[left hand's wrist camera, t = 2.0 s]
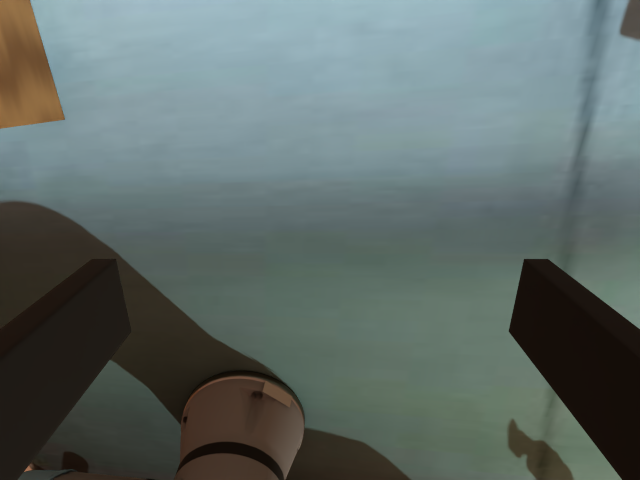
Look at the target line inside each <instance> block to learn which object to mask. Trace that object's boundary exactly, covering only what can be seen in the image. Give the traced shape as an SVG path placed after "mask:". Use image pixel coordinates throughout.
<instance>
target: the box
mask: <svg viewBox="0 0 640 480" xmlns="http://www.w3.org/2000/svg"><path fill="white" fill-rule="evenodd" d="M58 120H65V118H64V114H63V111H62V108H61V104H60V101H59V97H58V94H57V91H56V87H55V84H54V81H53V77H52V74H51V70H50V67H49V64H48V60H47V57H46V54H45V50H44V47H43V43H42V40H41V37H40V33H39V30H38V26H37V23H36V20H35V16H34V13H33V10H32V6H31V3H30V0H0V129H1V128H8V127H15V126H22V125H29V124H37V123H44V122H51V121H58Z"/></svg>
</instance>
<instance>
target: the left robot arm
mask: <svg viewBox="0 0 640 480" xmlns="http://www.w3.org/2000/svg"><path fill="white" fill-rule="evenodd" d="M130 332H131V328H130V323H129V319H128V314H127V309H126V304H125V300H124V295H123V290H122V286H121V281H120V276H119V271H118V267H117V262H116V259H92V260H90V261H89V262H88V263H86V264H85V265H84V266H82V267H81V268H80V269H79V270H77V271H76V272H75V273H73V274H72V275H71V276H69V277H68V278H67V279H65V280H64V281H63V282H62V283H60V284H59V285H58V286H56V287H55V288H54V289H52V290H51V291H50V292H48V293H47V294H46V295H45V296H43V297H42V298H41V299H39V300H38V301H37V302H35V303H34V304H33V305H31V306H30V307H29V308H28V309H26V310H25V311H24V312H22V313H21V314H20V315H18V316H17V317H16V318H14V319H13V320H12V321H11V322H9V323H8V324H7V325H5V326H4V327H3V328H1V329H0V480H18V479H19V477H20V476H21V475H22V473H23V472H24V471H25V469H26V468H27V467H28V466H29V464H30V463H31V462H32V460H33V459H34V458H35V456H36V455H37V454H38V453H39V451H40V450H41V449H42V447H43V446H44V445H45V443H46V442H47V441H48V439H49V438H50V437H51V436H52V434H53V433H54V432H55V430H56V429H57V428H58V426H59V425H60V424H61V422H62V421H63V420H64V419H65V417H66V416H67V415H68V413H69V412H70V411H71V409H72V408H73V407H74V406H75V404H76V403H77V402H78V400H79V399H80V398H81V396H82V395H83V394H84V392H85V391H86V390H87V389H88V387H89V386H90V385H91V383H92V382H93V381H94V379H95V378H96V377H97V375H98V374H99V373H100V372H101V370H102V369H103V368H104V366H105V365H106V364H107V362H108V361H109V360H110V358H111V357H112V356H113V355H114V353H115V352H116V351H117V349H118V348H119V347H120V345H121V344H122V343H123V341H124V340H125V339H126V338H127V336H128V335H129V334H130ZM509 332H510V334H511V335H512V336H513V338H514V339H515V340H516V341H517V343H518V344H519V345H520V347H521V348H522V349H523V351H524V352H525V353H526V355H527V356H528V357H529V358H530V360H531V361H532V362H533V364H534V365H535V366H536V368H537V369H538V370H539V372H540V373H541V374H542V375H543V377H544V378H545V379H546V381H547V382H548V383H549V385H550V386H551V387H552V389H553V390H554V391H555V392H556V394H557V395H558V396H559V398H560V399H561V400H562V402H563V403H564V404H565V406H566V407H567V408H568V409H569V411H570V412H571V413H572V415H573V416H574V417H575V419H576V420H577V421H578V422H579V424H580V425H581V426H582V428H583V429H584V430H585V432H586V433H587V434H588V436H589V437H590V438H591V439H592V441H593V442H594V443H595V445H596V446H597V447H598V449H599V450H600V451H601V453H602V454H603V455H604V456H605V458H606V459H607V460H608V462H609V463H610V464H611V466H612V467H613V468H614V470H615V471H616V472H617V473H618V475H619V476H620V477H621V479H622V480H640V329H639V328H637V327H636V326H635V325H633V324H632V323H631V322H629V321H628V320H627V319H626V318H624V317H623V316H622V315H620V314H619V313H618V312H616V311H615V310H614V309H612V308H611V307H610V306H609V305H607V304H606V303H605V302H603V301H602V300H601V299H599V298H598V297H597V296H595V295H594V294H593V293H592V292H590V291H589V290H588V289H586V288H585V287H584V286H582V285H581V284H580V283H578V282H577V281H576V280H575V279H573V278H572V277H571V276H569V275H568V274H567V273H565V272H564V271H563V270H561V269H560V268H559V267H558V266H556V265H555V264H554V263H552V262H551V261H550V260H548V259H524V262H523V267H522V271H521V276H520V281H519V286H518V290H517V295H516V300H515V304H514V309H513V314H512V319H511V323H510V328H509Z"/></svg>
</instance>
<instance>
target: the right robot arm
mask: <svg viewBox="0 0 640 480" xmlns="http://www.w3.org/2000/svg"><path fill="white" fill-rule="evenodd" d="M304 424H305V416H304V411H303V408H302V405H301V403H300V401H299V399H298V398H297V396H296V395H295V394H294V393H293V392H292V391H291V390H290V389H289V388H288V387H287V386H285V385H284V384H283V383H281V382H280V381H278V380H276V379H274V378H272V377H269V376H266V375H264V374H260V373H255V372H248V371H233V372H226V373H222V374H218V375H215V376H213V377H211V378H209V379H207V380H205V381H204V382H202V383H201V384H200V385H199V386H197V387H196V389H195V390H194V391H193V392H192V394H191V395H190V397H189V399H188V401H187V404H186V406H185V409H184V412H183V416H182V421H181V450H180V465H179V468H178V470H177V473H176V476H175V478H174V480H285V479H286V477H287V474H288V472H289V470H290V467H291V465H292V463H293V460H294V458H295V455H296V454H297V452H298V450H299V448H300V446H301V443H302V439H303V435H304ZM18 480H153V479H145V478H135V477H125V476H114V475H104V474H93V473H83V472H77V471H76V470H73V469H68V470H65V469H64V470H61V471H50V470H31V471H26V472H23V473H22V475H21V476H20V477H19V479H18Z"/></svg>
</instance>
